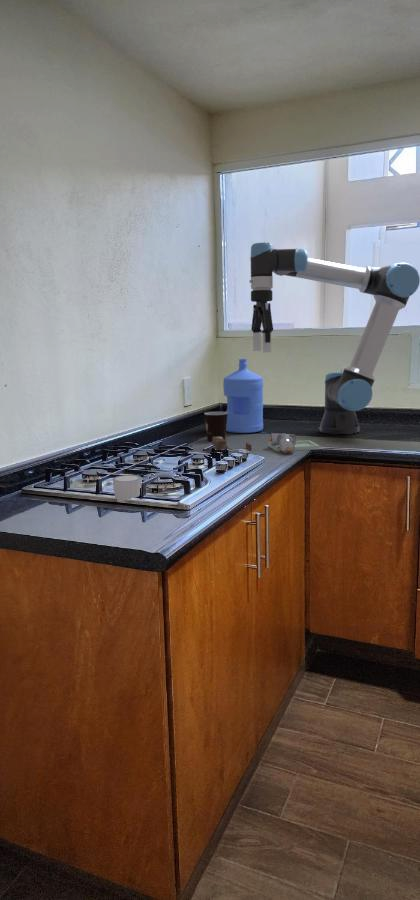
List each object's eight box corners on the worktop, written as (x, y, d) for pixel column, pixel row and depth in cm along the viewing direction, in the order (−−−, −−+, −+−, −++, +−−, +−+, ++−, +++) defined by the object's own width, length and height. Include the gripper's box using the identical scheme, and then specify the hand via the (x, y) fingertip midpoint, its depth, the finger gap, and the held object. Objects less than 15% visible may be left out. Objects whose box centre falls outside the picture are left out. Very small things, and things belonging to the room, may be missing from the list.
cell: (289, 433, 198) (295, 444, 191) (287, 444, 200) (294, 456, 192) (277, 433, 198) (283, 444, 190) (276, 444, 199) (282, 456, 192)
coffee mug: (225, 442, 215) (225, 415, 213) (202, 442, 216) (201, 414, 214) (231, 436, 226) (231, 410, 224) (208, 436, 227) (208, 410, 225)
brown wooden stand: (246, 447, 205) (246, 433, 204) (253, 453, 197) (253, 438, 196) (212, 449, 203) (212, 435, 202) (217, 455, 195) (217, 440, 194)
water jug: (245, 425, 251) (244, 357, 245) (271, 430, 238) (271, 358, 233) (216, 429, 241) (214, 359, 236) (241, 435, 229) (240, 361, 223)
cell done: (292, 434, 205) (268, 432, 203) (296, 434, 201) (271, 433, 199) (291, 446, 205) (267, 444, 203) (295, 446, 201) (270, 445, 199)
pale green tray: (309, 444, 209) (309, 440, 209) (319, 449, 200) (319, 445, 199) (268, 446, 206) (268, 442, 206) (276, 452, 197) (276, 448, 197)
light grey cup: (129, 500, 146) (127, 473, 145) (149, 505, 142) (147, 477, 141) (107, 507, 141) (106, 478, 140) (127, 513, 137) (126, 483, 136)
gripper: (242, 291, 220) (243, 350, 225) (260, 287, 196) (260, 353, 201) (262, 291, 222) (262, 349, 226) (282, 287, 198) (282, 352, 202)
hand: (261, 351), depth 213 cm, fingers open, 13 cm apart
